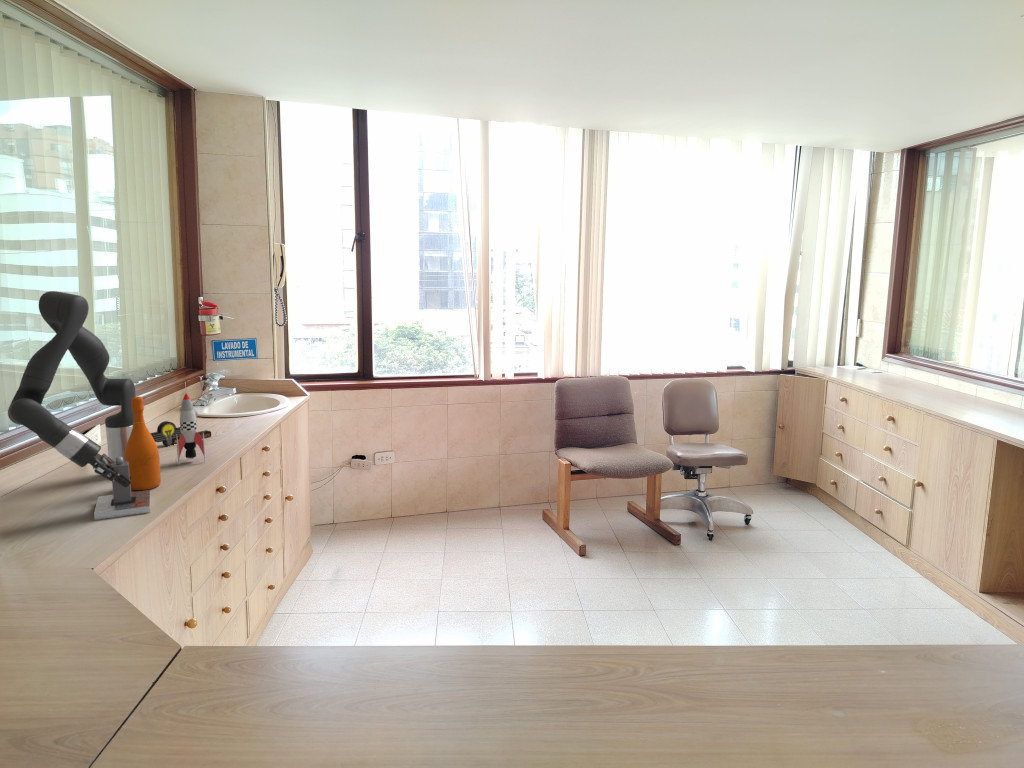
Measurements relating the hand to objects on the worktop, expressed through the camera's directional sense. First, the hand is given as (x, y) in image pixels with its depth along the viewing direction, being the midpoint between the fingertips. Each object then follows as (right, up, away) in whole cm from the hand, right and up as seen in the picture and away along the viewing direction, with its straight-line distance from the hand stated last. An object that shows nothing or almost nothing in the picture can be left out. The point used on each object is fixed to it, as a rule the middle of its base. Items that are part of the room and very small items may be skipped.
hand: (128, 482), depth 205 cm
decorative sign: (-20, +5, +73) cm, 76 cm away
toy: (-4, 0, +47) cm, 47 cm away
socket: (-2, -8, +1) cm, 8 cm away
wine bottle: (-6, -4, +20) cm, 21 cm away
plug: (-2, -5, 0) cm, 5 cm away
